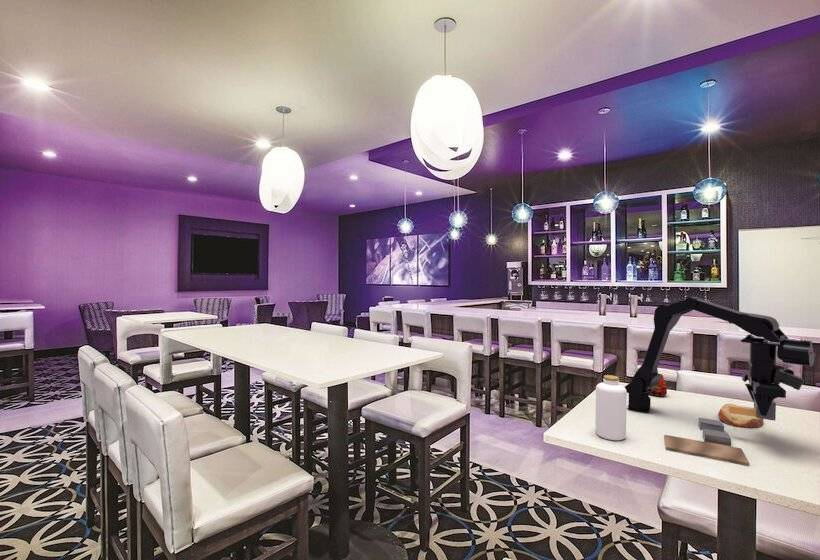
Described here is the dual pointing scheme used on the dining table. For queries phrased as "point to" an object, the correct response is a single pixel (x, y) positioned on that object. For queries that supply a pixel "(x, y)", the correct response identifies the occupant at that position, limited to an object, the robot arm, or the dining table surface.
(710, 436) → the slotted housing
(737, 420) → the slice of bread
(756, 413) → the plug
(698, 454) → the walnut board
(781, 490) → the dining table surface
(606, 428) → the potion bottle
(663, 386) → the red clay folk toy
